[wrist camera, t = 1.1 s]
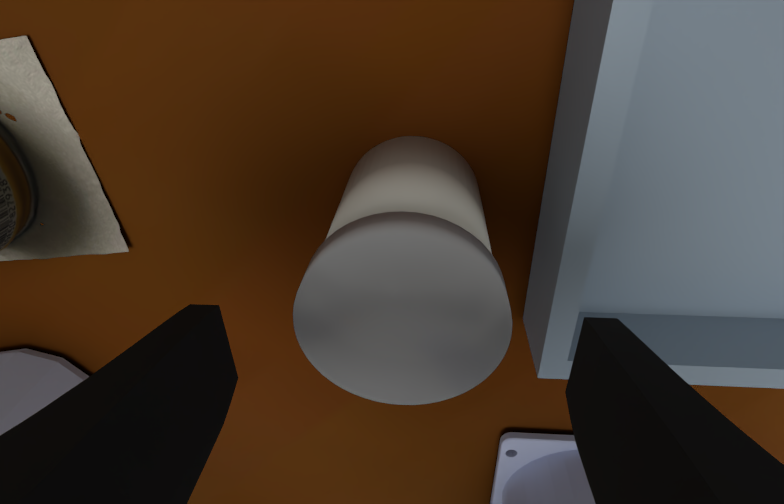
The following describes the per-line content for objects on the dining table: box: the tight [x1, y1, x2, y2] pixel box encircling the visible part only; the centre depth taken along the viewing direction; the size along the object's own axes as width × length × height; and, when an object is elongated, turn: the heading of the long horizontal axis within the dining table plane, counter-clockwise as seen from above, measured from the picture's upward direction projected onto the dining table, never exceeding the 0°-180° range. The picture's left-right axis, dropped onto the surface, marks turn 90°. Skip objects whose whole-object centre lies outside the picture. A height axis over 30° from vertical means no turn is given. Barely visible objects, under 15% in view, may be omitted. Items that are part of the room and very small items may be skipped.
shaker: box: [293, 136, 512, 405], centre depth 13 cm, size 5×5×6 cm
